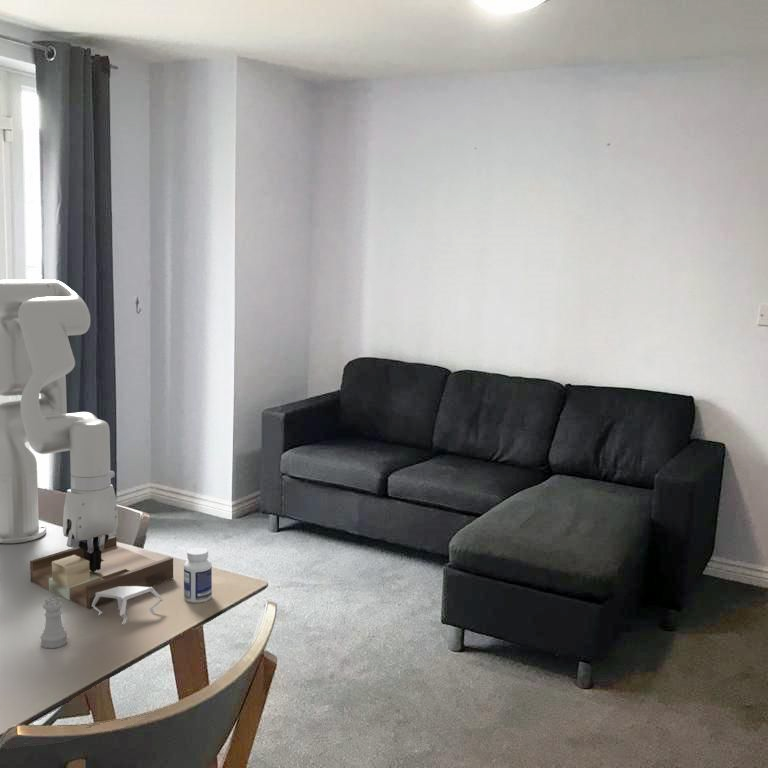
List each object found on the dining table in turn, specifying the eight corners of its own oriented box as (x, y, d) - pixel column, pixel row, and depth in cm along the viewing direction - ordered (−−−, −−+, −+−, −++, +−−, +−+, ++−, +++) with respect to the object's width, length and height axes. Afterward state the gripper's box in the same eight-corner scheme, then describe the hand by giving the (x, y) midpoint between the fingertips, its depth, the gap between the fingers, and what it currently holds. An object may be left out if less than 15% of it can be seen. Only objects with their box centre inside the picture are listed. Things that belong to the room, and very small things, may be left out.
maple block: (52, 581, 170) (51, 561, 169) (74, 573, 174) (74, 554, 173) (67, 587, 167) (66, 568, 166) (89, 580, 171) (89, 560, 170)
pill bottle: (215, 593, 173) (215, 547, 171) (207, 604, 167) (207, 556, 166) (189, 591, 173) (188, 545, 172) (180, 602, 168) (179, 554, 166)
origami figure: (104, 631, 155) (103, 606, 154) (90, 614, 162) (90, 589, 161) (168, 617, 162) (168, 592, 161) (153, 600, 168) (152, 577, 168)
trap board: (30, 581, 175) (30, 560, 174) (113, 555, 191) (113, 535, 190) (89, 609, 163) (89, 587, 162) (173, 578, 179) (173, 558, 178)
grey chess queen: (40, 651, 147) (39, 607, 145) (39, 639, 151) (38, 596, 149) (68, 647, 148) (67, 603, 147) (66, 635, 153) (65, 593, 151)
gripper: (111, 470, 180) (113, 554, 183) (45, 485, 168) (48, 574, 171) (133, 477, 175) (135, 563, 178) (68, 493, 163) (70, 584, 166)
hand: (92, 568), depth 175 cm, fingers closed
